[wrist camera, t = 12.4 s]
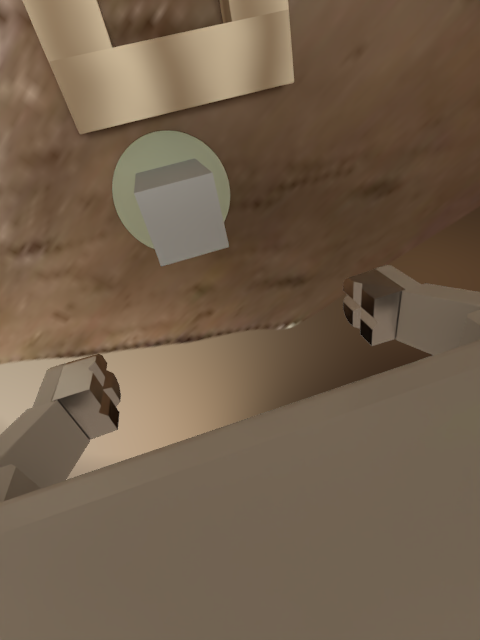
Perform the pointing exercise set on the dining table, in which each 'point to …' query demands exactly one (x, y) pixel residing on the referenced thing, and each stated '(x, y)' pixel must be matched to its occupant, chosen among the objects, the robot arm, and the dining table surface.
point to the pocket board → (161, 60)
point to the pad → (155, 154)
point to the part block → (181, 210)
